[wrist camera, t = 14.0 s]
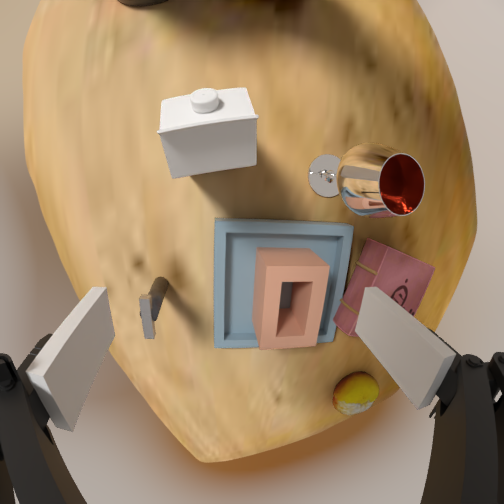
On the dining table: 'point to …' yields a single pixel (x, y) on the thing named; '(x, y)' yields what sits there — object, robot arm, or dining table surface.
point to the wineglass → (370, 180)
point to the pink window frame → (302, 298)
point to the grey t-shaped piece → (152, 306)
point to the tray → (242, 282)
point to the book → (383, 282)
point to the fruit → (355, 393)
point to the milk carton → (208, 131)
